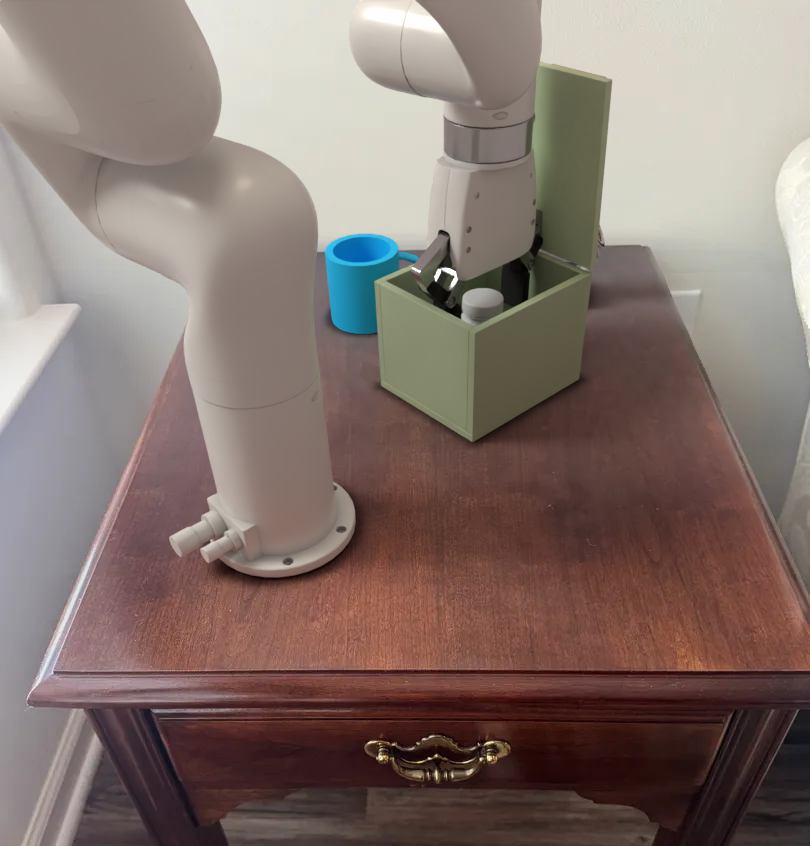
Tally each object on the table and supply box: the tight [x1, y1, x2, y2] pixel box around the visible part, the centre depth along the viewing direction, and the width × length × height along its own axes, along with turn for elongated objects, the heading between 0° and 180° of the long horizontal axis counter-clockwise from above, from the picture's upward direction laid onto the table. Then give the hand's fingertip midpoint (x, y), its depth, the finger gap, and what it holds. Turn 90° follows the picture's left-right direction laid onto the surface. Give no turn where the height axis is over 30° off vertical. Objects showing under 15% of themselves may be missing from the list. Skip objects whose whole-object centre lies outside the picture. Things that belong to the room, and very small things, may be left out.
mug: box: [324, 233, 420, 335], centre depth 97 cm, size 12×8×8 cm
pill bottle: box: [461, 288, 504, 327], centre depth 85 cm, size 5×5×9 cm
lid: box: [532, 60, 613, 271], centre depth 79 cm, size 16×14×5 cm
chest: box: [375, 251, 593, 443], centre depth 85 cm, size 16×14×12 cm
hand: (481, 321), depth 84 cm, fingers open, 8 cm apart
